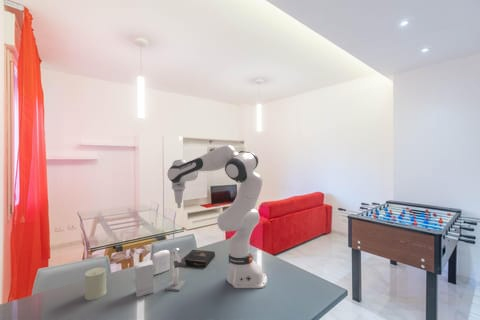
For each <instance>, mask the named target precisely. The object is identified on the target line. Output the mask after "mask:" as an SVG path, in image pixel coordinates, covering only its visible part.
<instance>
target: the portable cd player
mask: <svg viewBox="0 0 480 320" xmlns="http://www.w3.org/2000/svg"><path fill="white" fill-rule="evenodd" d="M214 258H216V253H215V251H209V250H201V249H200V250H199V249H191V251H190V252H188V253H187V254H186V255H185V256H184V257H183V258H182V259H181V260H183V259H184V260H185V262H186V266H185V267H194V268H202V269H203V268H204V269H207V267H208V266H209V264H211V262H212V261H213V260H214Z"/></svg>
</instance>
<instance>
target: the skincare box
mask: <svg viewBox="0 0 480 320" xmlns="http://www.w3.org/2000/svg"><path fill="white" fill-rule="evenodd" d="M134 266H135V267H134V271H135V272H134V273H135V292H136V293H135V294H136V298H139V297H142V296H145V295H149V294H154V291H155V290H154V275H153V263H152V259H149V260H145V261H141V262H140V261H139V262H136V263H135V264H134Z"/></svg>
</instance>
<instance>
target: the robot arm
mask: <svg viewBox="0 0 480 320" xmlns="http://www.w3.org/2000/svg"><path fill="white" fill-rule="evenodd" d="M258 165H259V158H258V155H256V153H254V152H251V151H245V150H240V151H239V152H238V151H236V150H235V148H234V146H232V145H229V144H226V145H222V146H219V147H217V148H215V149H212V150H210V151H208V152H207V153H204V154H203V155H200V156H198V157H197V158H194V159H192V160H190V161H186V160H185V159H176V160H173V162H172V164H171V166H170V168H169V169H168V170H167V177H168V178H167V179H168V180H170V182H171V189H172V190H173V192H174V194H173V195H174V200H175V201H174V203H175V204H177V208H178V209H181V207H182V202H183V197H184V196H183V194H184V191H185V189H186V188H187V182H192V181H195V180H196V179H197V178H198V175H199V174H198V173H199V172H214V171H219V170H221V169H223V168H224V172H225V174H226V175H227V177H228V178H229V179H231V180H233V181H235V182H236V183H240V185H239V186H238V187H239V188H238V191H237V193H236V196H235V198H234V200H233V202H232V203H231V204H230V205H229V206H228V207H227V208H226V209H225V210H224V211H223V212H220V213H219V214H218V216H217V219H216V220H217V222H216V223H217V227H218V228H219V229H220V230H221V232H234V231H235V233H234V234H233V235H232V236H231V237H230V239H229V242H228V243H229V253H228V273H227V276H226V281H227V283H229V284H230V285H232V287H233V288H234V289H264V287H266V285H267V283H268V276H267V274H266V273H264V272H263V269H262V266H261V265H260V264H259V263H257V262H256V261H255V260H253V259H254V257H253V256H254V254H253V253H252V254H251V253H250V240H251V236H252V233H253V231H254V229H255V228H256V226H257V225H259V222H260V220H261V216H260V213H259V211H258V210H257V209H255V206H256V204H257V201H258V200H259V196H260V195H261V191H262V186H263V178H262V176H261V175H260V174H259V173H256V172H255V170H256V169H257V167H258Z"/></svg>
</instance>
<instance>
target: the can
mask: <svg viewBox="0 0 480 320" xmlns="http://www.w3.org/2000/svg"><path fill="white" fill-rule="evenodd" d="M107 292H108V291H107V268H106V267H103V266H100V267H93V268H91V269H89V270H87V271H85V273H84V299H85V300H87V301H95V300H97V299H101V298H102V297H103V296H105V295H106V294H107Z"/></svg>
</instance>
